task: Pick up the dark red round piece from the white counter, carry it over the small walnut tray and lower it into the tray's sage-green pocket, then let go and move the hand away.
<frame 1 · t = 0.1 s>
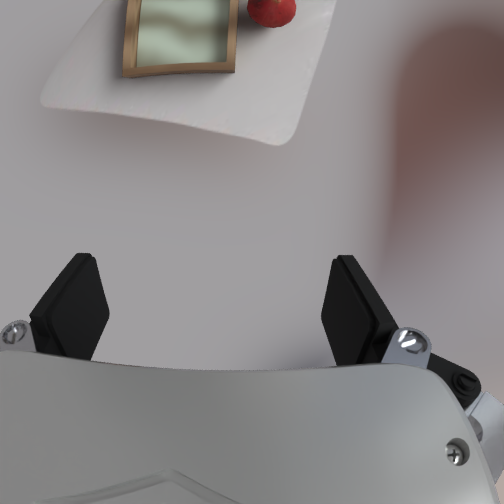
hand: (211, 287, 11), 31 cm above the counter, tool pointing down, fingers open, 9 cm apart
dark red round piece: (268, 15, 29), on the counter
tray: (183, 26, 29), on the counter
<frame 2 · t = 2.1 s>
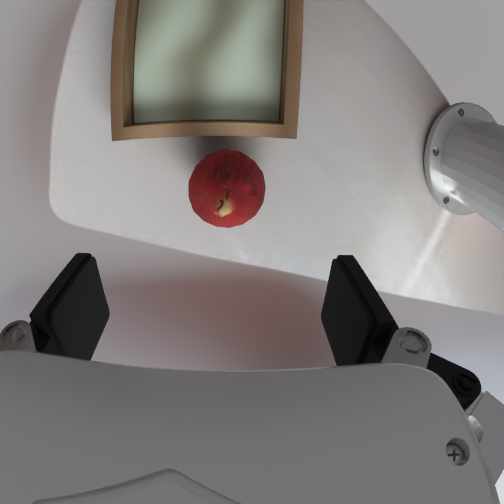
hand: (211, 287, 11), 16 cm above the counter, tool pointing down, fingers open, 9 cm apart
dark red round piece: (228, 175, 25), on the counter
tray: (207, 52, 20), on the counter
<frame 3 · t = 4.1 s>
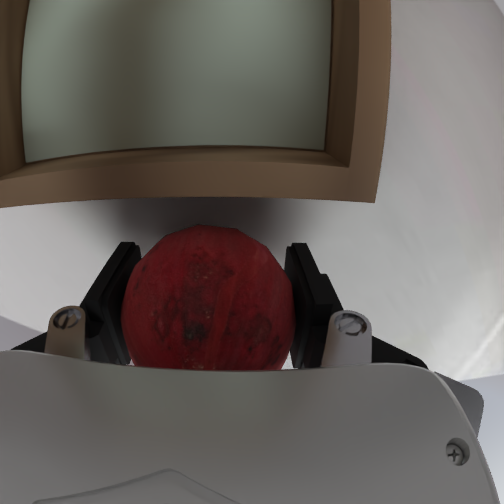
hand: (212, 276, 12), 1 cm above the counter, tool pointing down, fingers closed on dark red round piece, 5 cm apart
dark red round piece: (214, 257, 13), on the counter, touching gripper
tray: (165, 1, 8), on the counter
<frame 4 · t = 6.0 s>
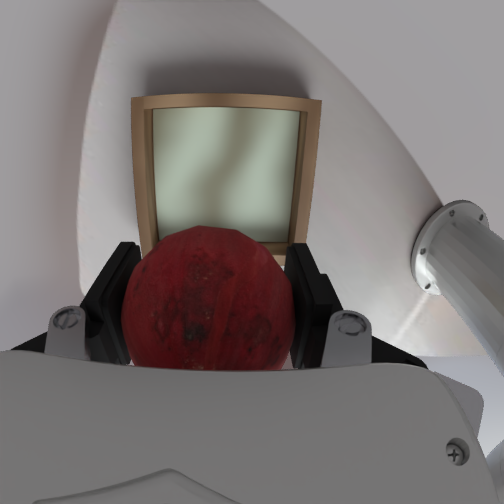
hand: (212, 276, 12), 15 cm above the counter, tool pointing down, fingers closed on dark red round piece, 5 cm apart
dark red round piece: (214, 257, 13), point 14 cm above the counter, touching gripper
tray: (224, 174, 25), on the counter
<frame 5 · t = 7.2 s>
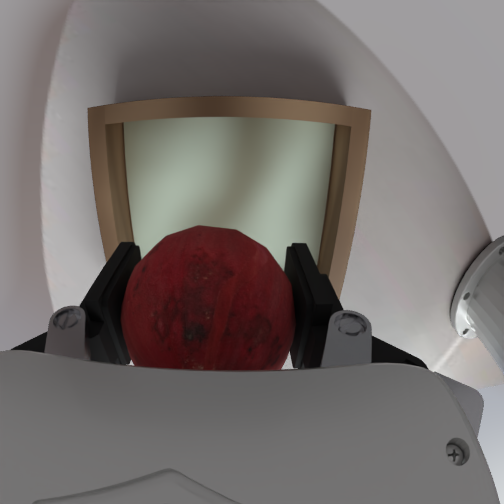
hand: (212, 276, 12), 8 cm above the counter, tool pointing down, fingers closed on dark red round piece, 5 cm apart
dark red round piece: (214, 257, 13), point 6 cm above the counter, touching gripper
tray: (226, 211, 18), on the counter
when the fingers open (4 cm above the counter, at t = 8.1 s): dark red round piece drops 2 cm, resting on tray.
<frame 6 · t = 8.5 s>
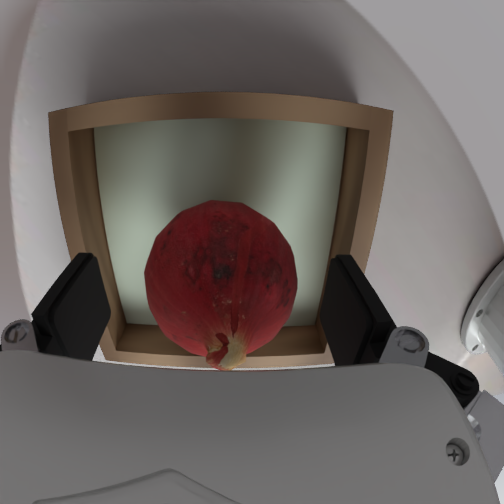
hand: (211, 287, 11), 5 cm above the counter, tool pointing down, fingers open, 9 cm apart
dark red round piece: (215, 240, 15), point 1 cm above the counter, touching tray
tray: (217, 229, 16), on the counter
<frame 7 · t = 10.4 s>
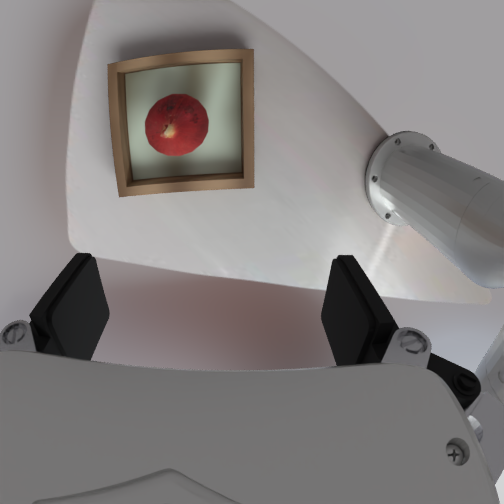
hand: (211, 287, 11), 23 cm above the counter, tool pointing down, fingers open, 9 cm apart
dark red round piece: (182, 121, 28), point 1 cm above the counter, touching tray
tray: (184, 119, 28), on the counter
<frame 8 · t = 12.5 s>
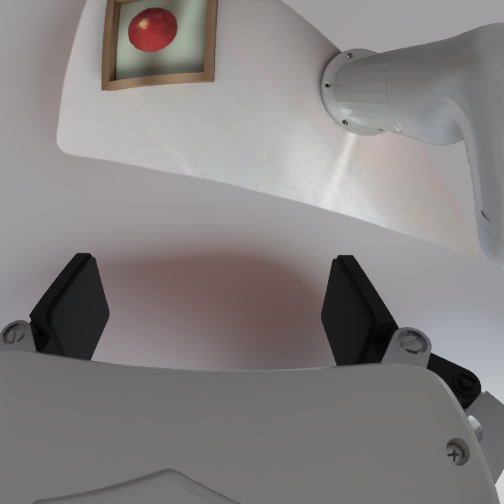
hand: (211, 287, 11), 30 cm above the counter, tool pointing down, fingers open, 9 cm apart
dark red round piece: (160, 35, 28), point 1 cm above the counter, touching tray
tray: (162, 36, 29), on the counter
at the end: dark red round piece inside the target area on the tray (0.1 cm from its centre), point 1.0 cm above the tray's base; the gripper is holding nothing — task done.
